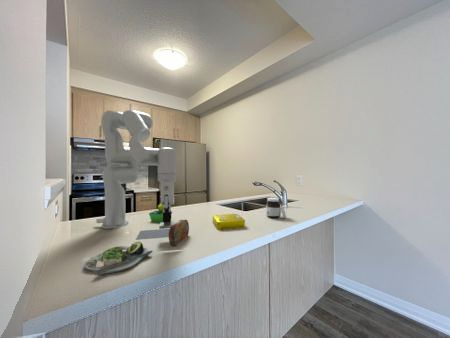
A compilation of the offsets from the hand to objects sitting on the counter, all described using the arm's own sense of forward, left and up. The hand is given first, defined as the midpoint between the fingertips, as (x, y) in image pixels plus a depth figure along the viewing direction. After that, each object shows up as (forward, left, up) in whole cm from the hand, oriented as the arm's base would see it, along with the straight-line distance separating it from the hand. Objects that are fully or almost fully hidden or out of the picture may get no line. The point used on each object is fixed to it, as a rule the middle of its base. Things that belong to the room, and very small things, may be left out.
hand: (167, 220), depth 83 cm
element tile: (+31, +17, -9) cm, 37 cm away
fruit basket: (-5, +33, -9) cm, 35 cm away
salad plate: (-15, -14, -9) cm, 22 cm away
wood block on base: (0, 0, -3) cm, 3 cm away
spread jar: (+64, +25, -9) cm, 69 cm away
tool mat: (-5, +9, -9) cm, 13 cm away
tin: (+5, -2, -9) cm, 10 cm away
